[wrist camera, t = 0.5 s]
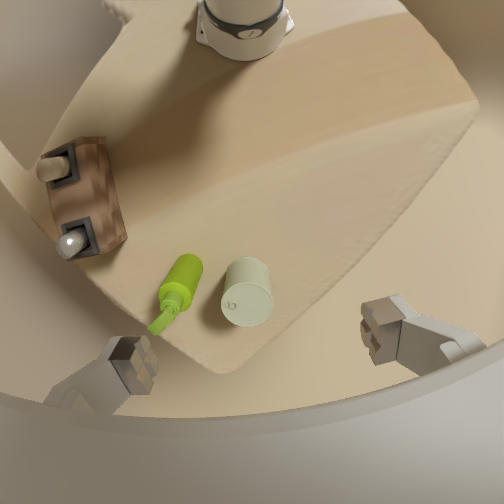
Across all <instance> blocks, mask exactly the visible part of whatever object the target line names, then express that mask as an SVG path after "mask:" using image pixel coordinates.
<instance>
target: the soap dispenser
mask: <svg viewBox="0 0 504 504" xmlns="http://www.w3.org/2000/svg"><path fill="white" fill-rule="evenodd" d="M202 272H203V264H202V262H201V260H200V259H199V258H198V257H197V256H195V255H193V254H184V255H181V256H180V257H179V258H178V259H177V261H176V263H175V264H174V266H173V267H172V269H171V271H170V272H169V274H168V276H167V277H166V279H165V281H164V282H163V284H162V286H161V287H160V289H159V292H158V297H159V301H160V310H161V312H162V313H161V314H160V315H159V316H158V317H157V318H156V319H155V320H154V321H153V322H152V323H151V324H150V325H149V326H148V328H147V329H148V330H149V331H150V332H151V333H152V334H154V335H155V336H156V335H158V334H159V333H160V332H161V331H163V330H164V329H165V328H166V327H167V326H168V325H169V324H170V323H171V322H172V321H173V320H174V319H175V316H177V315H178V314H179V312H183V311H185V310H187V309H188V308H189V307H190V305H191V302H192V299H193V297H194V294H195V291H196V288H197V285H198V283H199V280H200V277H201V274H202Z"/></svg>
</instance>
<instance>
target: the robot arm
mask: <svg viewBox="0 0 504 504" xmlns="http://www.w3.org/2000/svg"><path fill="white" fill-rule="evenodd" d="M197 6H199V9H198V19H197V30H196V40H197V42H199V43H201V44H204V45H207V46H210V47H212V48H213V49H214V50H216V51H217V52H218V53H219V54H221V55H223V56H225V57H227V58H230V59H233V60H239V61H250V60H256V59H259V58H262V57H264V56H266V55H268V54H270V53H271V52H273V51H274V50H275V49H276V48H277V46H278V45H279V44H280V42H281V40H282V38H283V37H284V36H285V35H286V34H287V33H289V32H290V31H292V30H293V28H294V23H293V21H292V19H291V17H290V15H289V11H288V10H286V8H285V6H284V0H197ZM202 31H203V34H201V32H202ZM361 314H362V316H363V318H364V319H363V320H362V322H361V323H360V324H361V326H360V330H361V337H362V340H363V343H364V345H365V346H366V347H368V348H369V355H370V357H371V359H372V361H373V363H374V365H375V366H376V365H380V364H384V363H387V362H391V361H395V360H396V361H397V362H398V363H400V364H401V365H403V366H405V367H406V368H408V369H410V370H411V371H413V372H414V373H416V374H418V375H419V376H420V377H417V378H414V379H411V380H408V381H405V382H403V383H399V384H396V385H393V386H390V387H387V388H384V389H380V390H377V391H373V392H370V393H366V394H362V395H359V396H354V397H350V398H346V399H342V400H338V401H333V402H328V403H324V404H318V405H314V406H308V407H302V408H297V409H290V410H283V411H276V412H268V413H261V414H251V415H240V416H227V417H208V418H153V417H152V418H151V417H134V416H121V415H112V414H113V413H114V412H115V411H116V410H117V409H118V408H119V407H120V406H121V405H122V404H123V403H124V402H125V401H126V400H127V399H128V398H129V397H130V396H131V395H149V394H150V391H151V389H152V386H153V381H152V378H153V377H154V376H156V375H157V372H158V360H157V356H156V354H155V352H154V351H152V350H151V349H150V348H149V347H150V341H149V339H148V338H147V336H145V335H136V336H115V337H111V338H110V340H109V342H108V343H107V345H106V346H105V348H104V349H103V351H102V353H101V354H100V356H99V357H98V359H97V360H96V361H95V360H94V361H92V362H91V363H89V364H87V365H86V366H84V367H83V368H81V369H80V370H78V371H77V372H75V373H74V374H72V375H70V376H69V377H67V378H66V379H64V380H63V381H61V382H60V383H58V384H56V385H55V386H53V388H52V389H51V391H50V393H49V394H48V396H47V397H46V399H45V400H44V402H43V403H39V402H35V401H31V400H27V399H23V398H20V397H15V396H12V395H9V394H5V393H2V392H0V504H504V339H502V340H500V341H498V342H497V343H495V344H493V345H491V346H489V347H487V346H486V345H485V344H484V343H483V342H482V341H481V340H480V338H479V337H478V336H477V335H476V334H475V333H474V332H473V331H471V330H468V329H465V328H462V327H458V326H456V325H453V324H450V323H447V322H444V321H441V320H438V319H435V318H432V317H429V316H426V315H423V314H421V315H418V314H417V313H416V312H415V311H414V309H413V308H412V307H411V306H410V305H409V304H408V303H407V302H406V301H405V299H404V298H403V297H402V296H401V295H400V294H395V295H392V296H388V297H385V298H381V299H377V300H374V301H369V302H365V303H362V305H361Z"/></svg>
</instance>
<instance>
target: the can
mask: <svg viewBox="0 0 504 504" xmlns="http://www.w3.org/2000/svg"><path fill="white" fill-rule="evenodd" d="M221 309H222V312H223V314H224V316H225V317H226V318H227V319H228V320H229V321H230V322H232V323H233V324H235V325H238V326H242V327H252V326H257V325H259V324H261V323H263V322H264V321H266V320H267V319H268V318H269V316H270V315H271V313H272V311H273V298H272V294H271V287H270V273H269V270H268V268H267V266H266V265H265V264H264V263H263V262H262V261H260V260H259V259H257V258H253V257H242V258H239V259H237V260H235V261H233V262H232V263H231V264H230V265H229V267H228V268H227V271H226V280H225V286H224V291H223V296H222V299H221Z"/></svg>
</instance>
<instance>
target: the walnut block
mask: <svg viewBox="0 0 504 504" xmlns="http://www.w3.org/2000/svg"><path fill="white" fill-rule="evenodd" d="M67 155H69V160H70V165H71V170H72V175H71V176H67V177H63V178H59V179H55V180H51V181H47V182H46V186H47V191H48V195H49V199H50V204H51V208H52V211H53V215H54V219H55V222H56V226H57V229H58V233H59V236H60V237H62V236H64V235H66V234H67V233H69V232H71V231H72V230H74V229H76V228H78V227H80V226H81V225H84V224H85V227H86V231H87V234H88V238H89V241H90V244H89V245H87V246H86V247H85V248H83V249H82V250H80V251H79V252H78V253H76V254H75V255H73V256H72V257H71V258H69V259H67V260H68V261H70V260H75V259H80V258H85V257H89V256H94V255H99V254H104V253H109V252H111V251H112V250H113V249H114V248H115V247H117V246H118V245H119V244H120V243H121V242H123V241H124V240H125V239H126V238H128V237H127V233H126V230H125V226H124V222H123V219H122V215H121V211H120V207H119V203H118V199H117V195H116V190H115V186H114V182H113V177H112V172H111V168H110V163H109V158H108V152H107V147H106V141H105V137H80V138H78V139H75V140H73V141H71V142H69V143H66V144H64V145H62V146H60V147H58V148H56V149H54V150H52V151H49V152H47V153H45V154H43V155H41V160H42V159H46V158H53V157H60V156H67Z"/></svg>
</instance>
